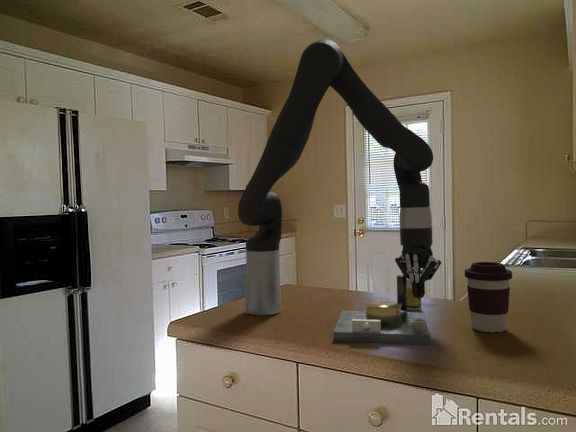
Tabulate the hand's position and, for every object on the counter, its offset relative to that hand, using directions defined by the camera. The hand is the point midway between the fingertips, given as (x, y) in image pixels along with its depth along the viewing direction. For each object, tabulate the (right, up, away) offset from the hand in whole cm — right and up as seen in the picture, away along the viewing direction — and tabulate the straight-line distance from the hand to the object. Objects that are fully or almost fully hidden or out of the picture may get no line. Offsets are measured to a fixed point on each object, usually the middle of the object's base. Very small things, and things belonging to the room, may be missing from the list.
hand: (418, 297), depth 111 cm
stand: (-10, -7, -5) cm, 13 cm away
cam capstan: (-7, -4, -2) cm, 8 cm away
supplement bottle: (+3, -6, +15) cm, 16 cm away
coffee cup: (+14, -6, -6) cm, 17 cm away
